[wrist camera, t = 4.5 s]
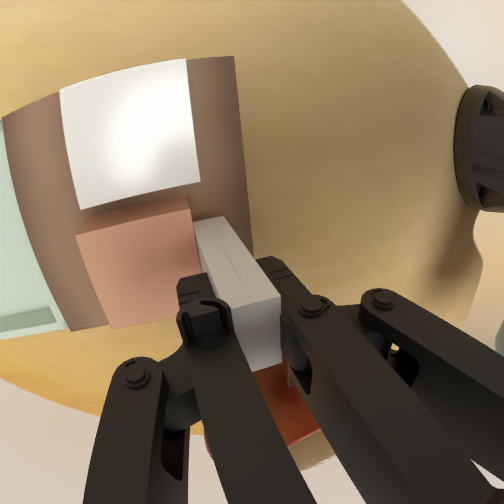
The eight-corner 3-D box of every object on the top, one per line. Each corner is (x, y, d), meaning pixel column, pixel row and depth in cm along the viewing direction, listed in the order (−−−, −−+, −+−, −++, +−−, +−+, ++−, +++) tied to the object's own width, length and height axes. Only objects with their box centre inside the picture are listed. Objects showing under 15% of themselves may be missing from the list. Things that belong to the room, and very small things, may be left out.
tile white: (181, 70, 10) (185, 58, 8) (193, 171, 13) (200, 181, 11) (76, 95, 9) (59, 89, 7) (93, 194, 12) (80, 209, 9)
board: (220, 67, 13) (233, 56, 11) (243, 267, 19) (256, 290, 17) (25, 117, 11) (1, 117, 8) (79, 304, 17) (70, 331, 14)
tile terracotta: (185, 194, 13) (190, 208, 11) (201, 282, 15) (209, 308, 13) (88, 216, 12) (75, 235, 10) (116, 300, 14) (112, 329, 12)
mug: (322, 313, 24) (391, 397, 15) (305, 376, 28) (351, 451, 19) (183, 335, 20) (211, 456, 12) (193, 399, 24) (218, 492, 15)
